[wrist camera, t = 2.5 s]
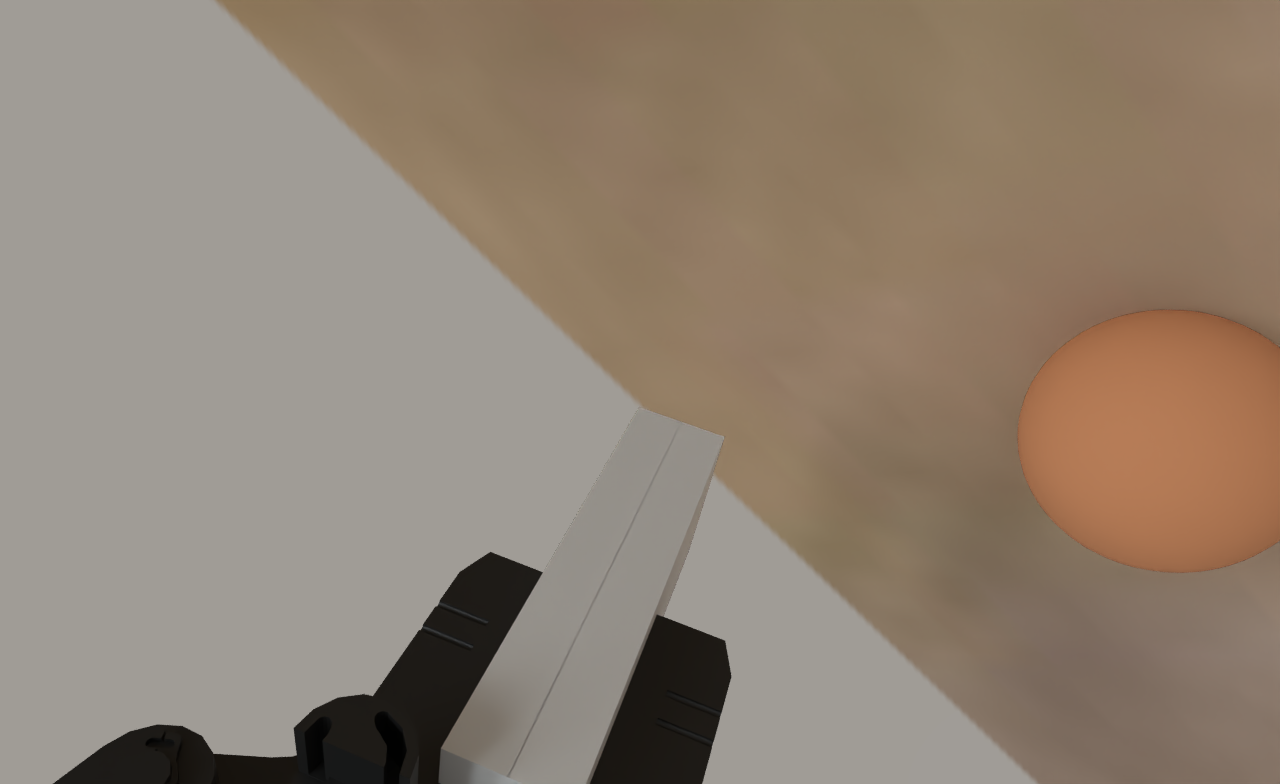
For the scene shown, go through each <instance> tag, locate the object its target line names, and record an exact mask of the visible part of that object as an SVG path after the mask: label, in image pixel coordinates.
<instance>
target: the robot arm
mask: <svg viewBox="0 0 1280 784" xmlns="http://www.w3.org/2000/svg"><path fill="white" fill-rule="evenodd" d="M723 441H724V436H721V435H718V434H715V433H712V432H710V431H707V430H704V429H701V428H698V427H695V426H692V425H689V424H687V423H684V422H681V421H678V420H675V419H672V418H669V417H666V416H663V415H661V414H658V413H655V412H652V411H649V410H646V409H643V408H640V407H639V408H638V410H637V411H636V413H635V415H634V417H633V418H632V420H631V422H630V424H629V425H628V427H627V429H626V430H625V432H624V434H623V436H622V437H621V439H620V441H619V442H618V444H617V446H616V448H615V449H614V451H613V453H612V455H611V456H610V458H609V460H608V461H607V463H606V465H605V467H604V469H603V470H602V472H601V474H600V475H599V477H598V479H597V480H596V482H595V484H594V486H593V488H592V489H591V491H590V492H589V494H588V496H587V498H586V499H585V501H584V503H583V505H582V506H581V508H580V510H579V511H578V513H577V515H576V517H575V518H574V520H573V522H572V523H571V525H570V527H569V529H568V530H567V532H566V534H565V536H564V537H563V539H562V541H561V542H560V544H559V546H558V548H557V549H556V551H555V553H554V554H553V556H552V558H551V560H550V561H549V563H548V565H547V566H546V568H545V570H544V572H540V571H538V570H536V569H533V568H530V567H528V566H525V565H523V564H520V563H517V562H515V561H512V560H510V559H507V558H505V557H502V556H499V555H497V554H494V553H492V552H490V553H488V554H487V555H485V556H484V557H482V558H480V559H479V560H477V561H476V562H474V563H473V564H471V565H470V566H468V567H467V568H465V569H464V570H462V571H461V572H459V574H458V575H457V577H456V578H455V580H454V581H453V582H452V584H451V585H450V587H449V588H448V590H447V591H446V592H445V594H444V595H443V597H442V598H441V600H440V602H439V604H438V606H437V607H435V608H434V610H433V611H432V612H431V614H430V615H429V617H428V618H427V620H426V621H425V622H424V624H423V627H422V629H421V630H419V631H418V632H417V634H416V635H415V637H414V638H413V640H412V641H411V642H410V644H409V645H408V647H407V648H406V650H405V651H404V652H403V654H402V655H401V657H400V658H399V660H398V661H397V662H396V664H395V666H394V667H393V668H392V670H391V671H390V673H389V674H388V675H387V677H386V678H385V680H384V681H383V683H382V684H381V685H380V687H379V688H378V690H377V691H376V693H375V694H374V695H373V696H369V695H365V694H362V695H355V696H347V697H340V698H336V699H334V700H332V701H330V702H328V703H326V704H324V705H322V706H320V707H317V708H315V709H313V710H312V711H311V712H310V713H309V714H308V715H307V716H306V717H305V718H304V719H303V720H302V721H301V722H300V723H299V724H297V725H296V727H294V734H295V743H296V751H297V755H296V756H293V757H273V758H269V757H256V756H240V755H223V754H213V752H212V751H211V749H210V748H209V746H208V745H207V743H206V742H205V740H204V739H203V737H202V736H201V735H199V734H197V733H195V732H193V731H191V730H189V729H187V728H185V727H183V726H171V725H154V726H150V727H146V728H142V729H138V730H134V731H130V732H128V733H127V734H125V735H123V736H121V737H119V738H117V739H116V740H114V741H112V742H110V743H108V744H107V745H105V746H103V747H102V748H100V749H99V750H98V751H97V752H95V753H94V754H92V755H91V756H90V757H88V758H87V759H86V760H84V761H83V762H82V763H80V764H79V765H78V766H76V767H75V768H74V769H72V770H71V771H69V772H68V773H67V774H65V775H64V776H63V777H61V778H60V779H59V780H57V781H56V782H55V783H53V784H702V782H703V779H704V775H705V771H706V768H707V764H708V760H709V757H710V753H711V749H712V744H713V741H714V738H715V734H716V731H717V727H718V724H719V720H720V715H721V712H722V709H723V705H724V702H725V698H726V694H727V690H728V687H729V683H730V679H731V672H730V666H729V660H728V655H727V649H726V643H725V641H724V640H722V639H719V638H717V637H714V636H712V635H709V634H706V633H704V632H701V631H699V630H696V629H693V628H691V627H688V626H686V625H683V624H680V623H678V622H675V621H673V620H670V619H668V618H665V617H663V616H664V614H665V611H666V608H667V606H668V603H669V601H670V598H671V596H672V593H673V590H674V588H675V585H676V583H677V580H678V577H679V575H680V572H681V570H682V567H683V565H684V562H685V559H686V557H687V554H688V552H689V548H690V545H691V542H692V539H693V536H694V533H695V530H696V526H697V523H698V520H699V517H700V514H701V510H702V507H703V504H704V501H705V498H706V494H707V491H708V488H709V485H710V482H711V479H712V476H713V472H714V469H715V466H716V463H717V460H718V456H719V453H720V450H721V447H722V444H723Z"/></svg>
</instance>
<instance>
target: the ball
mask: <svg viewBox="0 0 1280 784" xmlns="http://www.w3.org/2000/svg"><path fill="white" fill-rule="evenodd" d="M1018 452H1019V456H1020V461H1021V465H1022V469H1023V473H1024V476H1025V478H1026V480H1027V483H1028V485H1029V487H1030V489H1031V491H1032V493H1033V495H1034V497H1035V498H1036V500H1037V501H1038V503H1039V505H1040V506H1041V507H1042V509H1043V510H1044V511H1045V512H1046V514H1047V515H1048V516H1049V517H1050V518H1051V519H1052V521H1053V522H1054V523H1055V524H1056V525H1057V526H1058V527H1060V528H1061V529H1062V530H1063V531H1064V532H1065V533H1066V534H1068V535H1069V536H1070V537H1071V538H1073V539H1074V540H1075V541H1077V542H1078V543H1080V544H1081V545H1083V546H1084V547H1086V548H1088V549H1090V550H1092V551H1094V552H1096V553H1097V554H1099V555H1102V556H1104V557H1106V558H1108V559H1111V560H1113V561H1116V562H1118V563H1121V564H1125V565H1128V566H1132V567H1136V568H1141V569H1146V570H1152V571H1160V572H1176V573H1185V572H1199V571H1206V570H1213V569H1217V568H1221V567H1226V566H1229V565H1232V564H1235V563H1238V562H1241V561H1244V560H1246V559H1248V558H1250V557H1253V556H1255V555H1257V554H1259V553H1260V552H1262V551H1264V550H1266V549H1267V548H1269V547H1271V546H1273V545H1274V544H1275V543H1277V542H1278V541H1280V348H1279V347H1278V346H1277V345H1275V344H1274V343H1272V342H1271V341H1270V340H1268V339H1267V338H1265V337H1264V336H1262V335H1261V334H1259V333H1257V332H1256V331H1254V330H1252V329H1250V328H1248V327H1246V326H1244V325H1241V324H1238V323H1236V322H1233V321H1230V320H1227V319H1224V318H1222V317H1219V316H1215V315H1210V314H1206V313H1202V312H1194V311H1185V310H1153V311H1143V312H1137V313H1132V314H1127V315H1123V316H1120V317H1116V318H1113V319H1110V320H1107V321H1105V322H1102V323H1100V324H1097V325H1095V326H1093V327H1091V328H1089V329H1087V330H1086V331H1084V332H1082V333H1080V334H1079V335H1077V336H1076V337H1074V338H1073V339H1071V340H1070V341H1068V342H1067V343H1066V344H1064V345H1063V346H1062V347H1061V348H1060V349H1059V350H1057V351H1056V352H1055V353H1054V354H1053V355H1052V356H1051V357H1050V358H1049V359H1048V360H1047V362H1046V363H1045V364H1044V365H1043V366H1042V368H1041V369H1040V371H1039V372H1038V374H1037V375H1036V377H1035V378H1034V380H1033V381H1032V383H1031V385H1030V387H1029V389H1028V391H1027V393H1026V395H1025V399H1024V402H1023V405H1022V409H1021V412H1020V416H1019V424H1018Z"/></svg>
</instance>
